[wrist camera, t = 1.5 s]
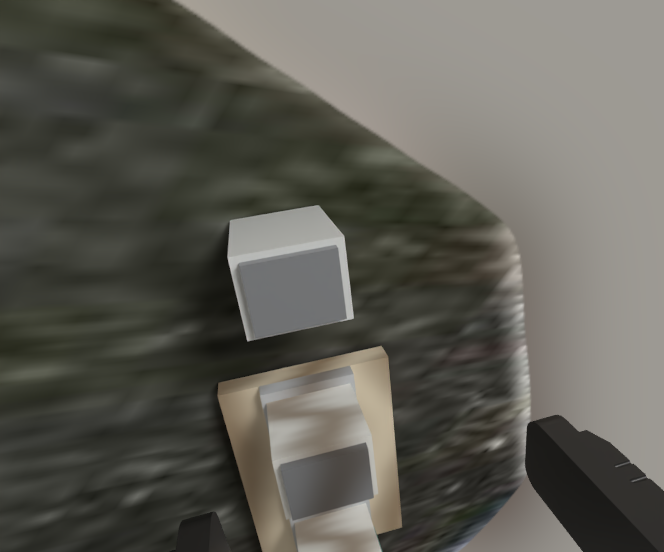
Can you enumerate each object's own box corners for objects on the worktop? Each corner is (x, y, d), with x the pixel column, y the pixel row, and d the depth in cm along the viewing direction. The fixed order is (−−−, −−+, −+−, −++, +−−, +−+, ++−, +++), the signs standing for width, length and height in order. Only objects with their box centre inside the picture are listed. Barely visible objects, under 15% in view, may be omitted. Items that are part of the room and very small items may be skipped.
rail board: (265, 549, 36) (272, 659, 29) (218, 382, 29) (211, 473, 22) (396, 512, 38) (433, 607, 31) (381, 345, 31) (425, 418, 24)
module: (245, 286, 27) (247, 346, 20) (229, 220, 25) (227, 261, 18) (327, 270, 28) (356, 323, 21) (318, 205, 26) (346, 239, 19)
